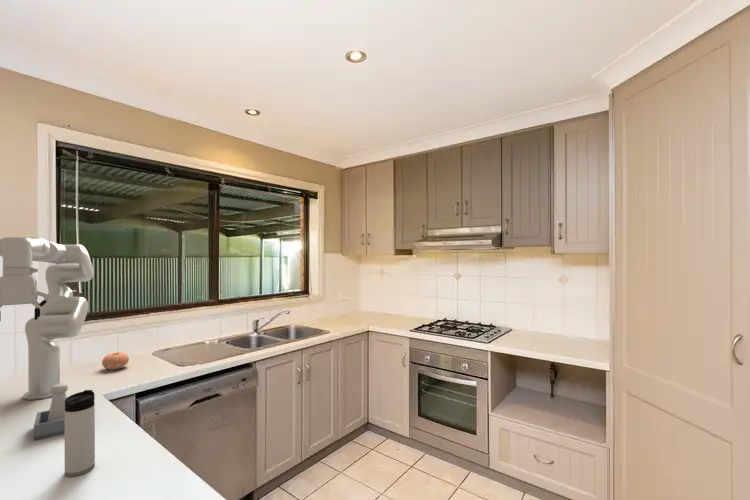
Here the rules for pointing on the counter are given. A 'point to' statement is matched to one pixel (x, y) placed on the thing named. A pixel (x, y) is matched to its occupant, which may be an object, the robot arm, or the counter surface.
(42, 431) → the box
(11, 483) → the counter surface
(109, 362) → the orange pumpkin
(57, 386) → the salt shaker
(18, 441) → the counter surface
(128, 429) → the counter surface
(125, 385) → the counter surface
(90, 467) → the travel mug
